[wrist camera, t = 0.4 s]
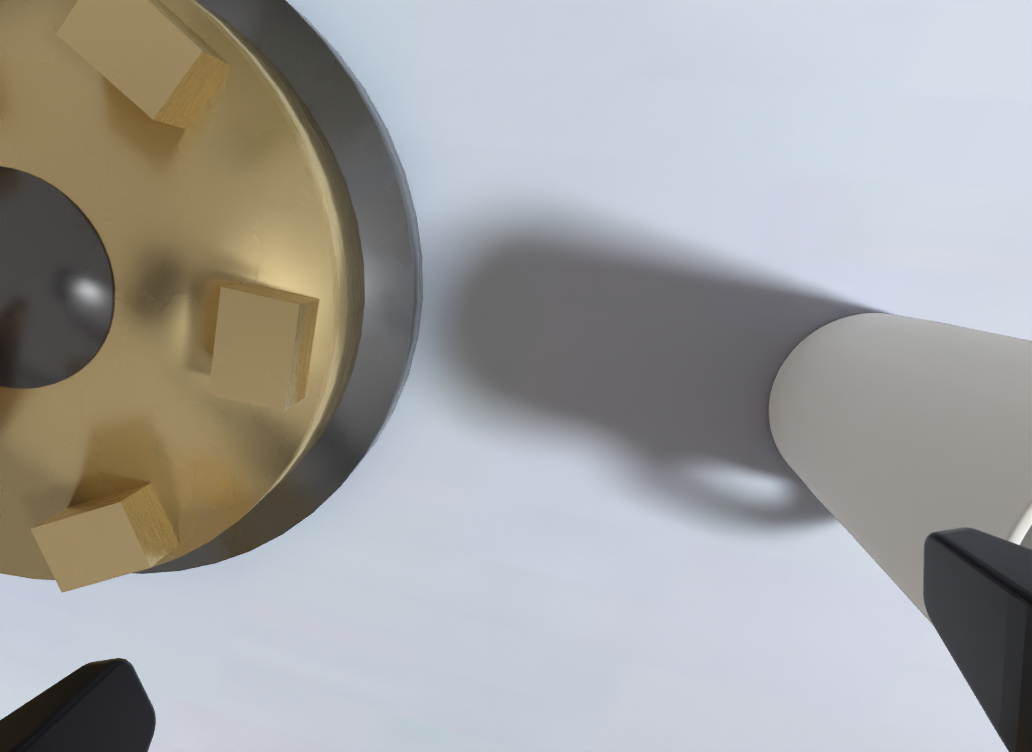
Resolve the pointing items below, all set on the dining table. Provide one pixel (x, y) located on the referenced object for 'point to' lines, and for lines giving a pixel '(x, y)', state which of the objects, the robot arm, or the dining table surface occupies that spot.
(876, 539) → the mug
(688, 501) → the dining table surface
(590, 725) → the dining table surface
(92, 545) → the brass turntable disc
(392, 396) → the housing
